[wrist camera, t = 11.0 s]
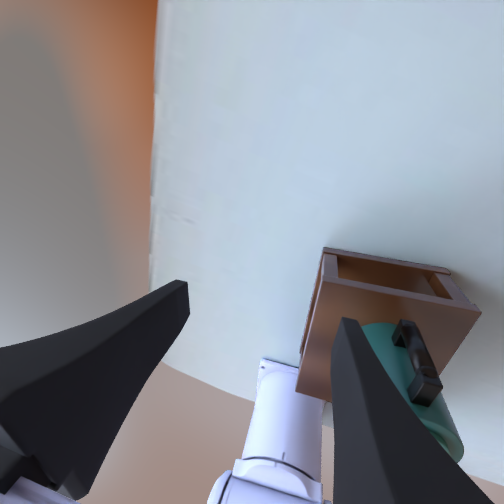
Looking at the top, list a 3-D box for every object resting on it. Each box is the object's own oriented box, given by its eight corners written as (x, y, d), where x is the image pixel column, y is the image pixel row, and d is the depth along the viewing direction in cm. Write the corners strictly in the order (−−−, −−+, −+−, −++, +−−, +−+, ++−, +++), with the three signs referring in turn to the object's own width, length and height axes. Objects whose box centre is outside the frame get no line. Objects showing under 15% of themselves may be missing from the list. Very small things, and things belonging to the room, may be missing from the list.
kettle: (395, 396, 19) (428, 527, 13) (333, 379, 20) (336, 494, 14) (445, 311, 15) (529, 445, 9) (363, 294, 16) (387, 405, 9)
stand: (392, 371, 24) (406, 424, 20) (300, 347, 26) (294, 392, 22) (446, 268, 18) (482, 312, 14) (323, 246, 20) (322, 280, 16)
